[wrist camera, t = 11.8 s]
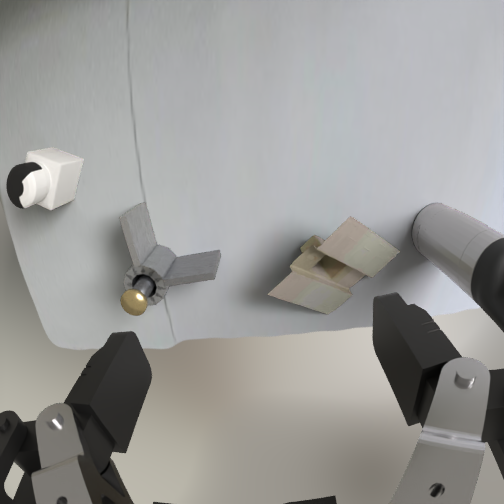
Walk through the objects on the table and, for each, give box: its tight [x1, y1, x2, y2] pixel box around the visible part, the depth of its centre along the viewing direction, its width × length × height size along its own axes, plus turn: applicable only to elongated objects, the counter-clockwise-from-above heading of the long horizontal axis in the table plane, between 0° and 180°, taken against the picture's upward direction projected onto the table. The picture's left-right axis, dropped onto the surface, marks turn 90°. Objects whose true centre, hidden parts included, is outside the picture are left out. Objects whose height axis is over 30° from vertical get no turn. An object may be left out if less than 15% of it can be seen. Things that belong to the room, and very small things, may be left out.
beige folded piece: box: [267, 216, 400, 315], centre depth 45 cm, size 16×9×15 cm
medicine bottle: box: [7, 147, 84, 210], centre depth 37 cm, size 7×7×12 cm
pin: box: [121, 274, 156, 316], centre depth 42 cm, size 3×3×13 cm
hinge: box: [119, 202, 221, 306], centre depth 43 cm, size 13×13×8 cm
